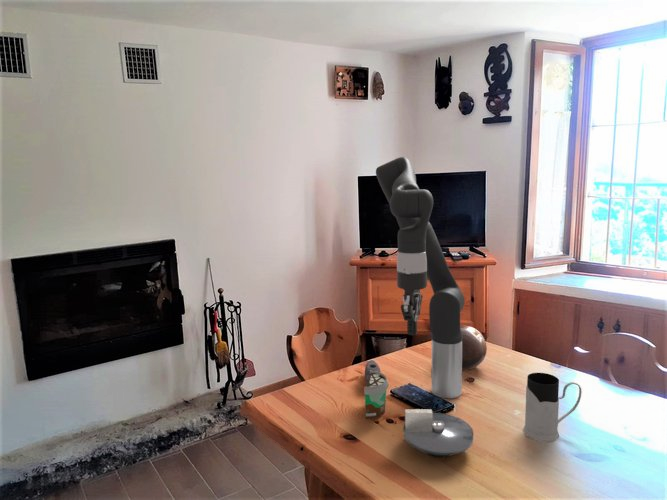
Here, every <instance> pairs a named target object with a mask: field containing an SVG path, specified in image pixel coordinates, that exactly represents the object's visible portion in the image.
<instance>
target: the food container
mask: <svg viewBox="0 0 667 500" xmlns="http://www.w3.org/2000/svg"><path fill="white" fill-rule="evenodd" d="M380 372H381V371H380ZM380 372H377V371H370V376H369V379H368V382H367V384H366V385H365V386H364V390H363V391H364V395H363V396H364V406H365V407H364V408H365V419H369V420H372V419H377V418H381V417H382V416H384V414H385V413H386V401H387V400H386V399H387V390H388V388H389V387H390V385H389V381H388V378H387V376H386V375H385V374H384V373H382V372H381V373H380Z"/></svg>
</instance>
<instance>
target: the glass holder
mask: <svg viewBox="0 0 667 500" xmlns="http://www.w3.org/2000/svg"><path fill="white" fill-rule="evenodd" d="M526 378H527V379H526V380H527V382H526V387H525V389H526V390H525V392H526V393H525V414H524V415H525V418H524V419H525V421H524V426H523V428H522V431H523V433H524V434H525V436H527V437H529V438H530V439H532V440H536V441H539V442H545V443H546V442H547V443H548V442H549V443H550V442H554V441H556V440H559V438H560V434H559V433H560V432H559V429H558V427H559V424H560V422H561V421H563V420H564V419H565V418H567V417H568V416H570V415H571V414H572V413H573V412H574V411H575V410H576V408H577V407H578V405H579V403H580V402H581V398H582V387H581V385H580V384H578V383H577V382H574V381H572V382H571V381H570V382H568V383H566V384H565V385H564V387H563V391H562V395H561V396H559V390H560V388H559V387H560V379H559V378H558V377H557V376H556V375H553V374H549V373H546V372H532V373H529V374H528V375H527V377H526ZM571 385H576V386H578V390H579V392H578V397H577V400H576V402H575V404H574V405H573V407H572V408H570V410H569V411H568V412H566V413H565V414H563V416H561V417H560V418H559V408H560V407H559V404H560V400H562V399H563V400H564V398H565V397H566V391H567V389H568V387H570V386H571Z"/></svg>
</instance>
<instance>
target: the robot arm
mask: <svg viewBox="0 0 667 500" xmlns="http://www.w3.org/2000/svg"><path fill="white" fill-rule="evenodd" d="M375 175H376V179H377V180H378V183H379V186H380V187H381V190H382V192H383V194H384V195H385V198H386V200H387V202H388V204H389V209H390V212H391V214H392V215H393V217H395V219H396V222H397V224H398V227H399V230H398V231H397V257H396V286H397V287H398V288H399V289H402V290H403V291H404V294H403V295H402V302H403V304H401V305H400V310H401V312H402V313H401V314H402V317H403V320H404V321H405V322H406V326H407V327H406V328H407V329H406V330H407V331H406V332H407V335H408V336H416V335H417V334H418V320H419V316H420V314H421V308H422V302H423V293H421V292H420V290H424V289H425V288H427V286H428V281H429V283H430V286H431V288H432V292H433V295H432V296H431V298H430V300H429V308H428V309H429V310H428V312H429V313H428V316H429V317H428V319H429V332H430V334H431V335H430V336H431V393H432V394H433V395H435V396H436V397H439V398H443V399H455V398H458V397H460V396H461V395H462V393H463V391H462V390H463V389H462V388H463V369H462V331H461V329H460V326H461V312H462V311H463V308H464V307H465V296H464V294H463V292H462V290H461V288H460V286H459V284H458V283H457V281H456V279H455V278H454V276H453V273H452V272H451V270H450V268H449V265H448V263H447V260H446V257H445V255H444V253H443V249H442V247H441V245H440V242H439V239H438V237H437V235H436V233H435V229H433V226H432V224H431V223H430V218H431V214H432V210H433V207H434V197H433V195H432V193H431V192H430V191H429V190H428V189H420V187H419V186H418V184H417V176H416V172H415V169H414V168H413V166H412V163H411V162H410V160H409V159H408V158H407V157H405V156H401V157H400V156H399V157H397V158H395V159H392V160H391V161H387V162H386V163H384V164H382V165H380V166H377V168H376V169H375Z"/></svg>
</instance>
